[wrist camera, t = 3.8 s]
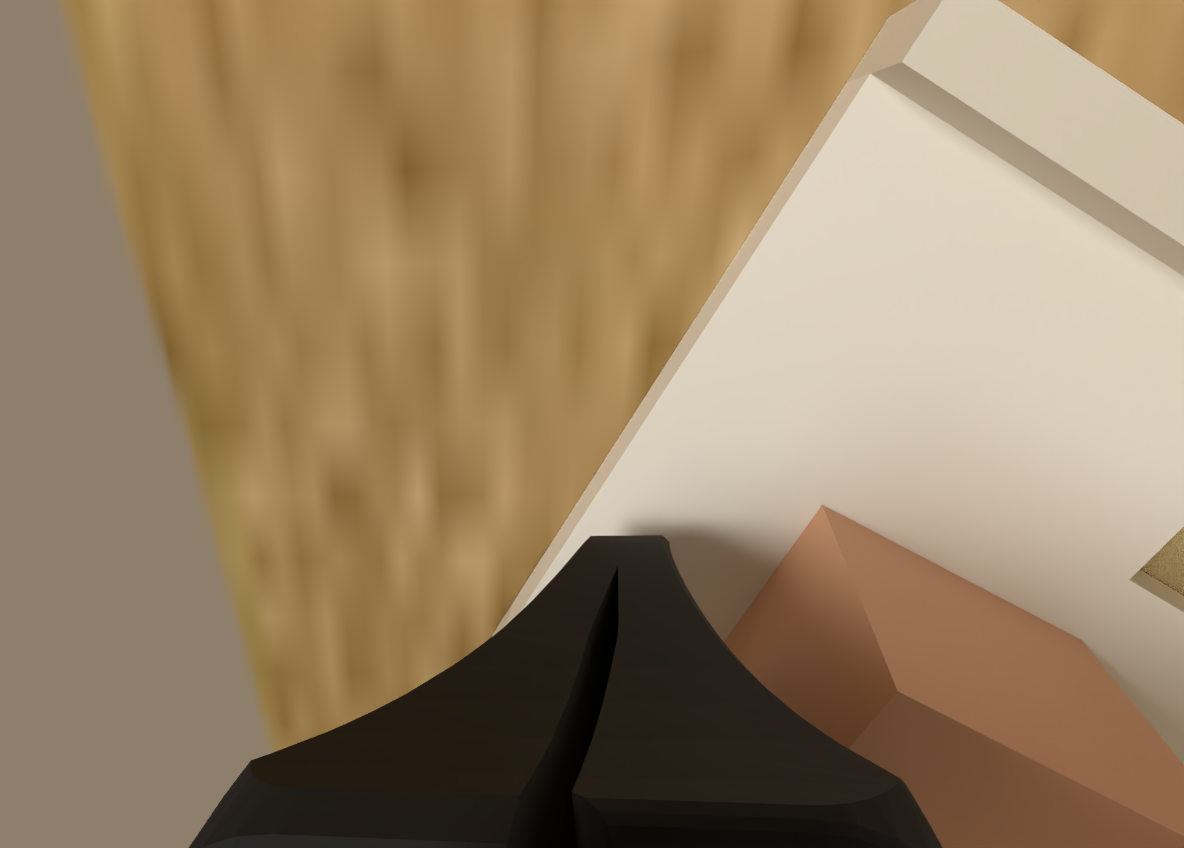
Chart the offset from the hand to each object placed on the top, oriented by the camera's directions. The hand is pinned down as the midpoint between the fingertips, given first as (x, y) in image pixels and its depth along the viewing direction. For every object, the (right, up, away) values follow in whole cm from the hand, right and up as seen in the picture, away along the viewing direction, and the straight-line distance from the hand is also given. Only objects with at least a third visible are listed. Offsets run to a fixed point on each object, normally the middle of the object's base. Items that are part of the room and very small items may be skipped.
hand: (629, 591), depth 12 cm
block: (+4, -2, +1) cm, 5 cm away
